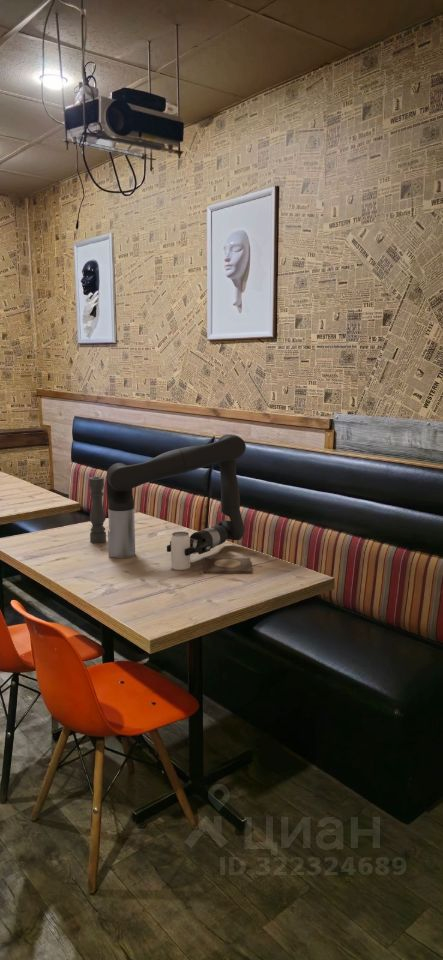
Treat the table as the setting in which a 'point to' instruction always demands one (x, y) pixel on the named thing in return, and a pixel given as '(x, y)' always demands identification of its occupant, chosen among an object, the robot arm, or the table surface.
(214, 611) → the table surface
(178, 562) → the can
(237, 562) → the rest board
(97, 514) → the candle holder
